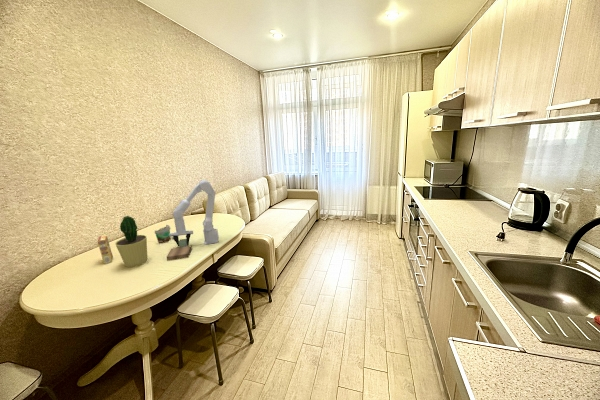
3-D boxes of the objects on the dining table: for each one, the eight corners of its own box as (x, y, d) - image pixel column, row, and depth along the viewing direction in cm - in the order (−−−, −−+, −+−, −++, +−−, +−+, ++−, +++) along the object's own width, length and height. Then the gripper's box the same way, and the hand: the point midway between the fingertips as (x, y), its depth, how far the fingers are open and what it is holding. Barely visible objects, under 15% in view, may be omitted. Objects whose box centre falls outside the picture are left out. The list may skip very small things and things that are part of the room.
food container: (164, 244, 170) (161, 231, 167) (156, 243, 171) (154, 230, 168) (176, 237, 181) (173, 224, 179) (169, 237, 183) (166, 224, 180)
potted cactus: (124, 259, 149) (113, 214, 141) (153, 254, 155) (143, 210, 147) (117, 271, 135) (104, 221, 128) (149, 265, 141) (138, 216, 133)
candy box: (112, 262, 147) (106, 239, 143) (103, 264, 144) (97, 240, 141) (113, 256, 154) (107, 234, 150) (104, 258, 152) (98, 236, 148)
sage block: (188, 245, 166) (186, 238, 165) (186, 247, 162) (185, 241, 161) (181, 246, 165) (179, 239, 164) (179, 248, 161) (178, 242, 160)
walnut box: (191, 250, 160) (191, 245, 159) (188, 258, 148) (187, 253, 147) (172, 252, 157) (171, 248, 156) (167, 261, 145) (166, 256, 145)
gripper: (192, 223, 165) (195, 241, 169) (169, 225, 162) (173, 244, 165) (191, 226, 159) (194, 245, 162) (167, 229, 155) (170, 248, 159)
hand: (183, 245), depth 163 cm, fingers open, 5 cm apart
